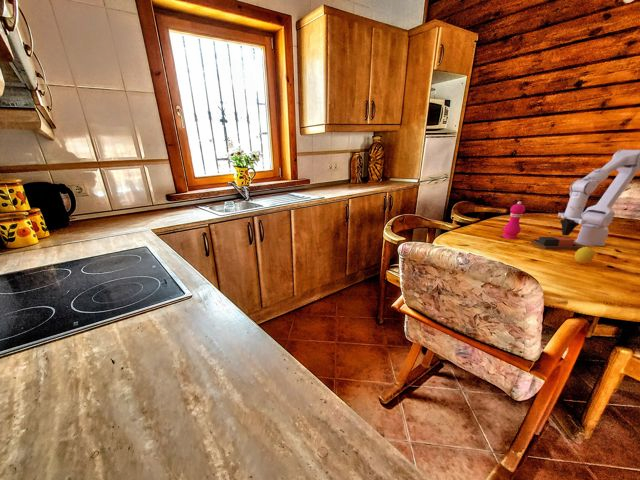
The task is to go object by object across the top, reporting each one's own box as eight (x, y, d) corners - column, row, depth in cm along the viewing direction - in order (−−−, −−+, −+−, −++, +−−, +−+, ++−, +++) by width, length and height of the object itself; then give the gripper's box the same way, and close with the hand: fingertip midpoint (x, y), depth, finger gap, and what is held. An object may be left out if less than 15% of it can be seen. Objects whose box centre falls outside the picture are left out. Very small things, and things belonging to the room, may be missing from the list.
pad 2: (564, 244, 137) (567, 236, 135) (571, 247, 133) (574, 239, 131) (551, 244, 138) (553, 236, 136) (557, 247, 134) (560, 239, 132)
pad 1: (550, 244, 138) (553, 236, 136) (556, 247, 134) (559, 239, 132) (536, 244, 139) (539, 236, 137) (542, 247, 135) (545, 239, 133)
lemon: (582, 261, 119) (589, 244, 116) (593, 267, 114) (601, 249, 111) (567, 262, 120) (574, 244, 117) (579, 267, 115) (586, 249, 112)
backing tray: (565, 243, 139) (566, 239, 138) (581, 250, 130) (582, 246, 129) (531, 243, 142) (532, 239, 141) (544, 250, 133) (545, 246, 132)
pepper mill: (518, 240, 146) (529, 202, 138) (501, 239, 150) (511, 202, 142) (517, 236, 152) (527, 200, 144) (501, 235, 156) (510, 199, 148)
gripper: (554, 203, 135) (545, 230, 140) (577, 210, 122) (566, 239, 127) (571, 203, 134) (561, 230, 139) (596, 210, 121) (584, 239, 126)
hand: (565, 235), depth 133 cm, fingers closed
